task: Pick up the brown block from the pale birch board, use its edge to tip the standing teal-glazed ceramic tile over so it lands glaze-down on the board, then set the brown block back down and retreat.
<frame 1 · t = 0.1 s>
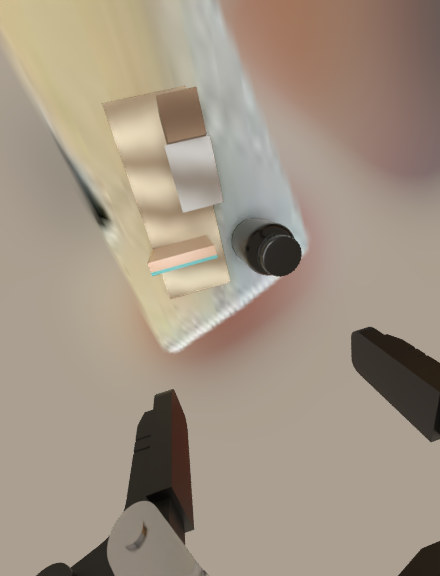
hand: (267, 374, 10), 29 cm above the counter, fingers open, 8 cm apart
supplement bottle: (251, 239, 38), on the counter
tile: (181, 247, 35), point 1 cm above the counter, touching board
brown block: (180, 132, 30), point 1 cm above the counter, touching board
board: (176, 206, 34), on the counter
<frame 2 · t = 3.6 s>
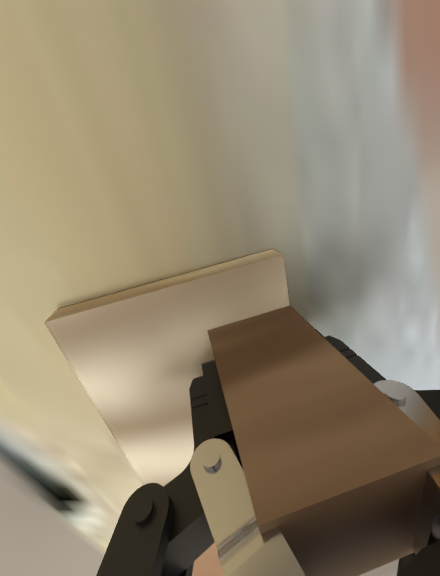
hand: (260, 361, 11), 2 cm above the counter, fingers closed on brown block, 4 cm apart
tile: (235, 525, 17), point 1 cm above the counter, touching board
brown block: (256, 352, 12), point 1 cm above the counter, touching board, gripper
board: (229, 455, 16), on the counter
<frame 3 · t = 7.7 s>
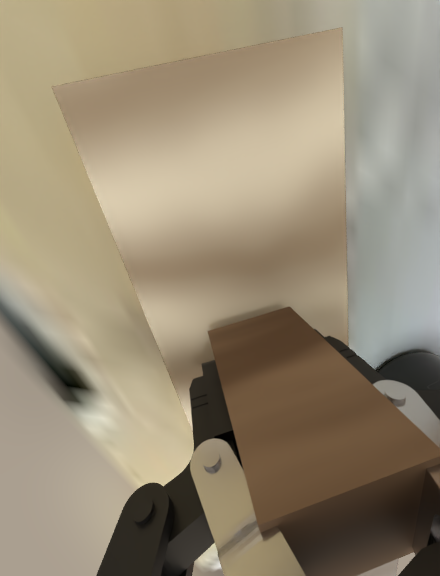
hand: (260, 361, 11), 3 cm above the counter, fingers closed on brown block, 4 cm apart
supplement bottle: (397, 384, 18), on the counter
brown block: (256, 352, 12), point 2 cm above the counter, touching gripper
board: (257, 346, 14), on the counter
when the fingers open (2 cm above the counter, at t = 10.4 s): brown block stays where it is, resting on board.
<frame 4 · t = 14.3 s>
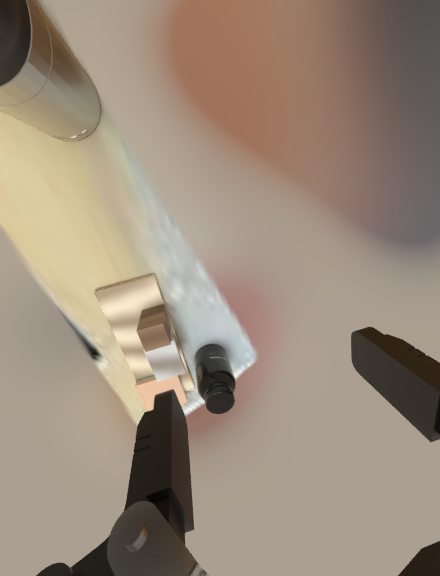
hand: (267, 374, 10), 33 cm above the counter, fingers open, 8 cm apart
supplement bottle: (210, 356, 50), on the counter
tile: (156, 376, 47), point 2 cm above the counter, tilted 90°, touching board
brown block: (156, 316, 43), point 1 cm above the counter, touching board
board: (151, 342, 46), on the counter
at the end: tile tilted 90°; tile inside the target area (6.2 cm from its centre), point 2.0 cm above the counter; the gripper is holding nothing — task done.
